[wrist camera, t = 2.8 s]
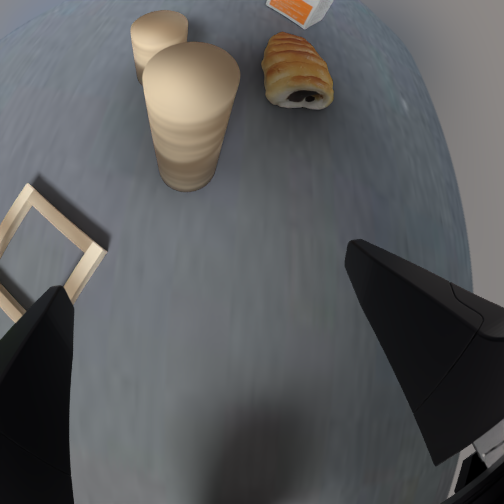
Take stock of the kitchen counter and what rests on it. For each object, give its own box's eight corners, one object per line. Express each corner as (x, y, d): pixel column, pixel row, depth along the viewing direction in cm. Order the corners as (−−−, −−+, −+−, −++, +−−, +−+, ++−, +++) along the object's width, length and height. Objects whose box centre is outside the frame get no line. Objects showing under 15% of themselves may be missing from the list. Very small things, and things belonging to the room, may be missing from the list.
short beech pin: (162, 97, 22) (159, 50, 17) (127, 77, 22) (118, 31, 16) (194, 68, 23) (200, 22, 18) (160, 50, 23) (159, 5, 17)
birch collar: (49, 347, 18) (42, 350, 17) (-19, 276, 17) (-26, 275, 16) (107, 251, 20) (103, 249, 19) (33, 187, 19) (27, 182, 18)
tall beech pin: (192, 203, 22) (198, 129, 11) (147, 171, 21) (122, 82, 11) (227, 160, 23) (258, 69, 12) (183, 130, 22) (186, 31, 12)
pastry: (252, 40, 25) (260, 15, 22) (312, 47, 27) (325, 25, 23) (263, 110, 24) (276, 85, 21) (332, 115, 26) (350, 94, 22)
